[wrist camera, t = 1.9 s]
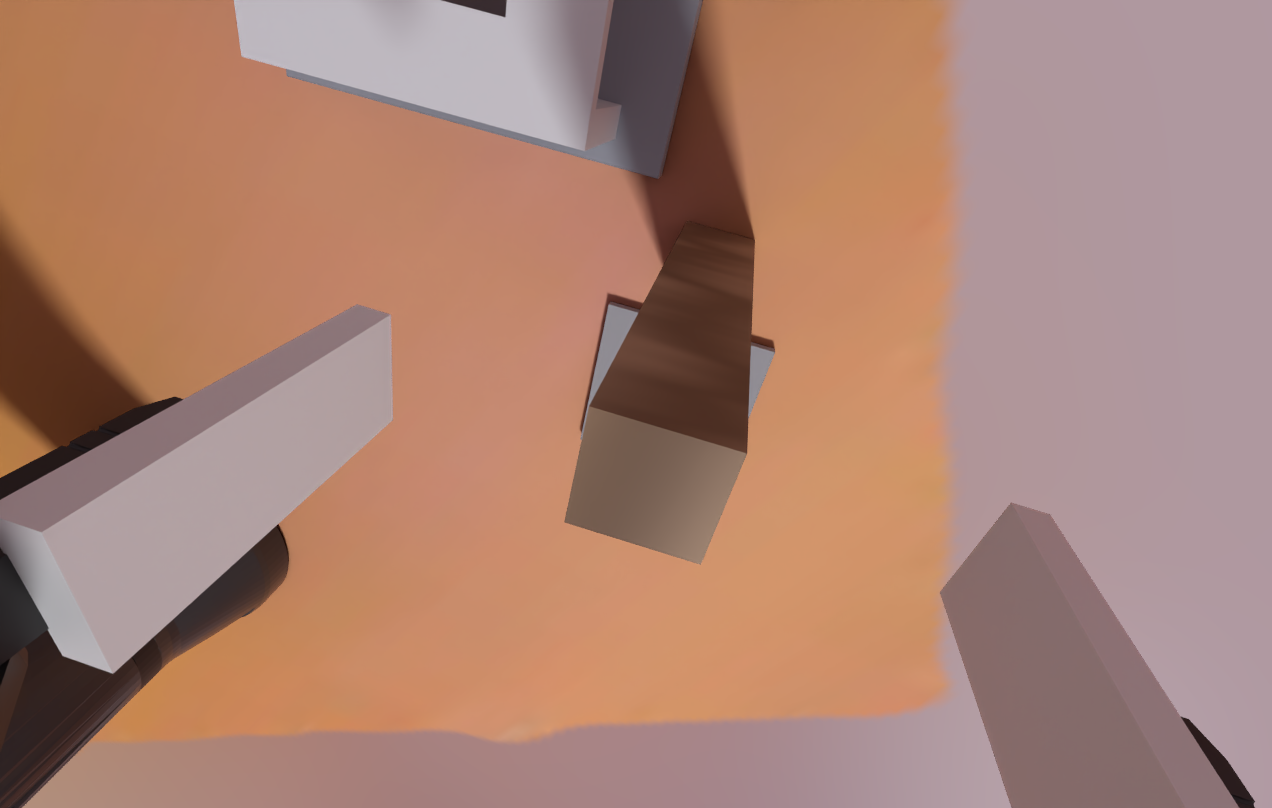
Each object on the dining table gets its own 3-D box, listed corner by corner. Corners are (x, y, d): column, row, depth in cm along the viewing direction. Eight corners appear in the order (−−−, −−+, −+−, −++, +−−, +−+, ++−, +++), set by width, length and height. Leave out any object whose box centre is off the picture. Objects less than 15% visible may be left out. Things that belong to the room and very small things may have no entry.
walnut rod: (669, 286, 25) (564, 521, 12) (686, 220, 24) (589, 406, 10) (732, 304, 25) (700, 564, 12) (754, 239, 24) (747, 453, 10)
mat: (582, 435, 30) (580, 439, 30) (610, 301, 26) (608, 304, 26) (723, 477, 30) (722, 482, 30) (774, 348, 26) (774, 352, 26)
